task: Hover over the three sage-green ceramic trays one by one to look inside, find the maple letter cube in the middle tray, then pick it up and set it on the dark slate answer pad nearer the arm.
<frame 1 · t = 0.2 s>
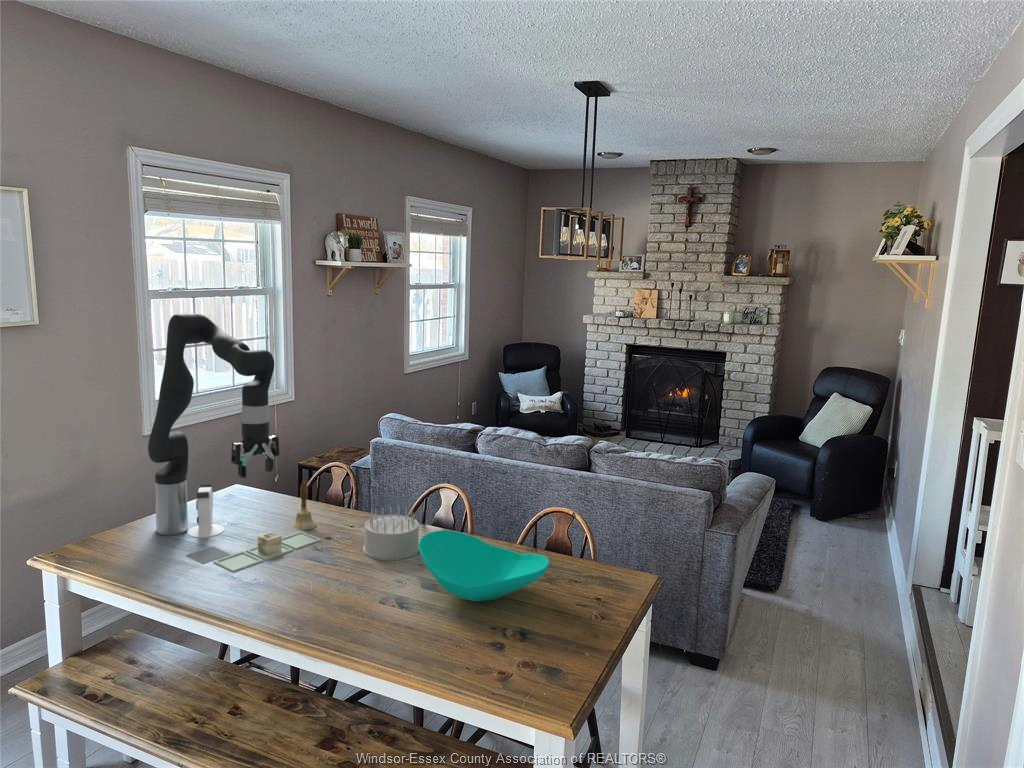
hand: (256, 474, 205), 29 cm above the table, fingers open, 8 cm apart
white post on base: (206, 531, 235), on the table
answer pad: (208, 556, 216), on the table
cake: (391, 550, 228), on the table
table top decor: (480, 595, 200), on the table
tray B: (269, 552, 221), on the table
letter cube: (269, 550, 221), resting on tray B
tray A: (238, 563, 212), on the table
hand bell: (303, 527, 243), on the table
tray C: (298, 542, 230), on the table
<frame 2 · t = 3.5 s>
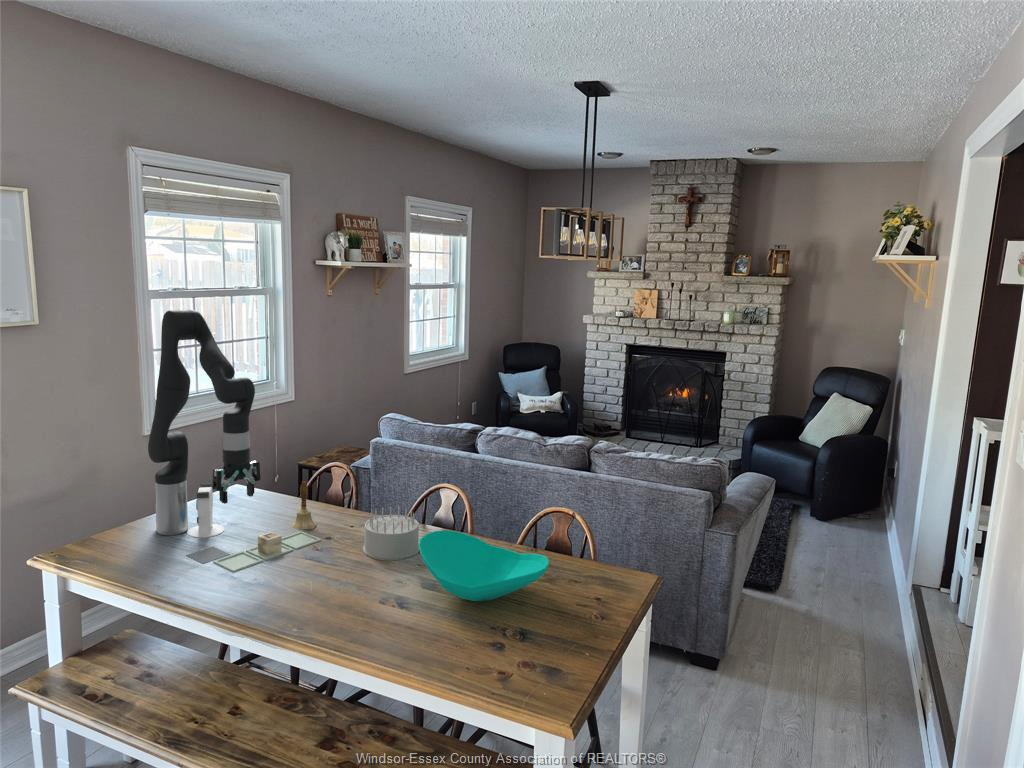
hand: (237, 499, 208), 20 cm above the table, fingers open, 8 cm apart
nothing on the table moved.
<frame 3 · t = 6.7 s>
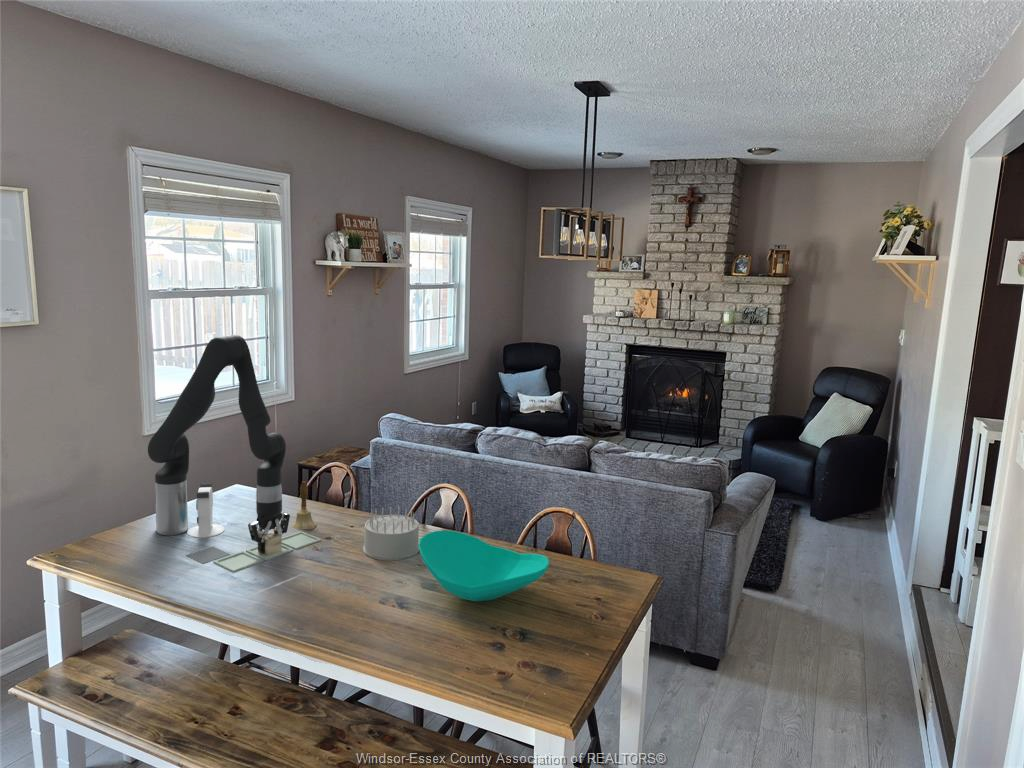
hand: (269, 549, 221), 1 cm above the table, fingers closed on letter cube, 5 cm apart
letter cube: (269, 550, 221), resting on tray B, touching gripper
everything else where it was.
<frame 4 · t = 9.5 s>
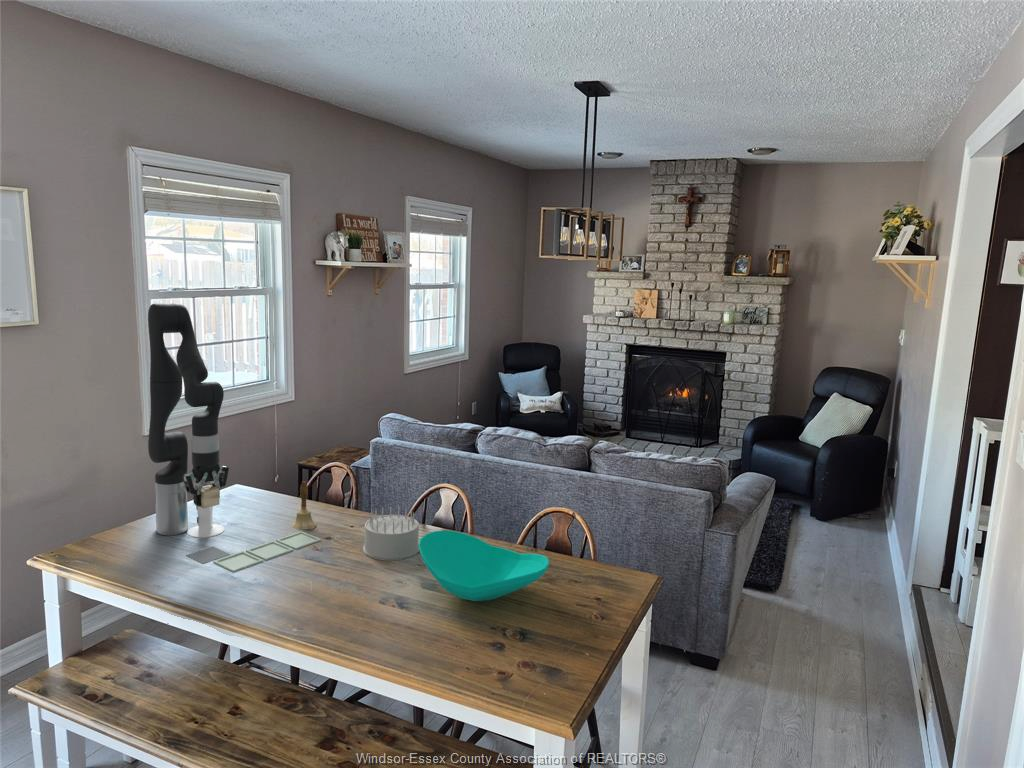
hand: (206, 503, 213), 17 cm above the table, fingers closed on letter cube, 5 cm apart
letter cube: (207, 504, 213), point 17 cm above the table, touching gripper
everything else where it was.
when the fingers open (2 cm above the table, at t = 12.6 s): letter cube drops 1 cm, resting on answer pad.
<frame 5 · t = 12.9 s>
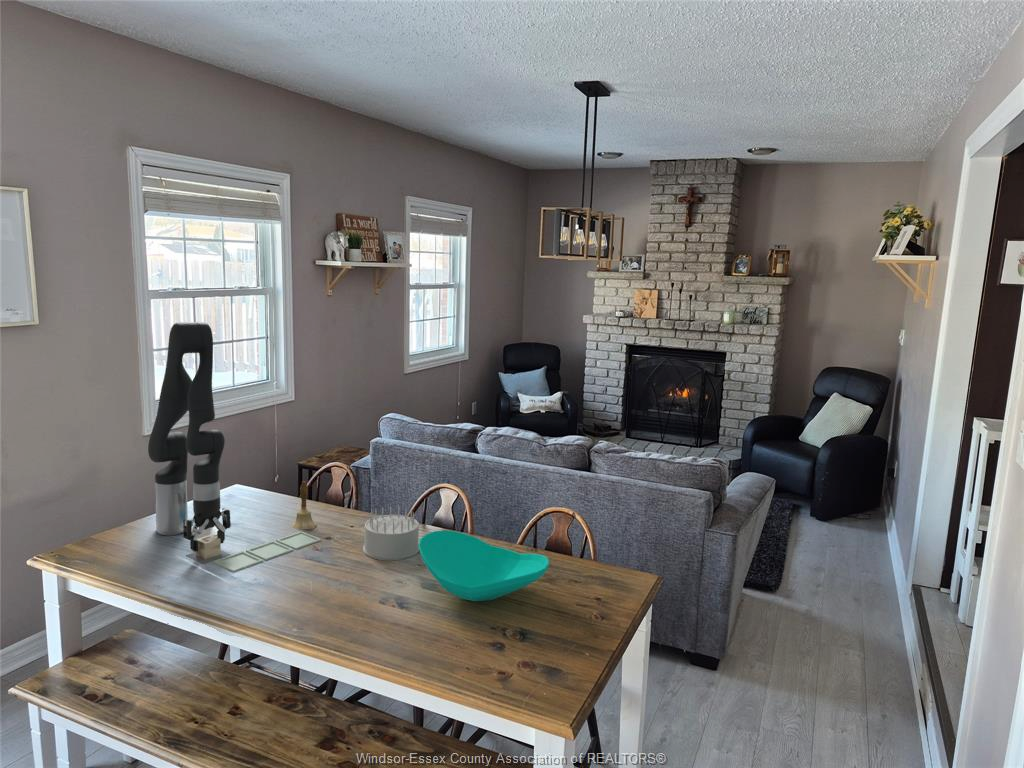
hand: (207, 546, 215), 3 cm above the table, fingers open, 8 cm apart
letter cube: (208, 554, 216), point 1 cm above the table, touching answer pad
everything else where it was.
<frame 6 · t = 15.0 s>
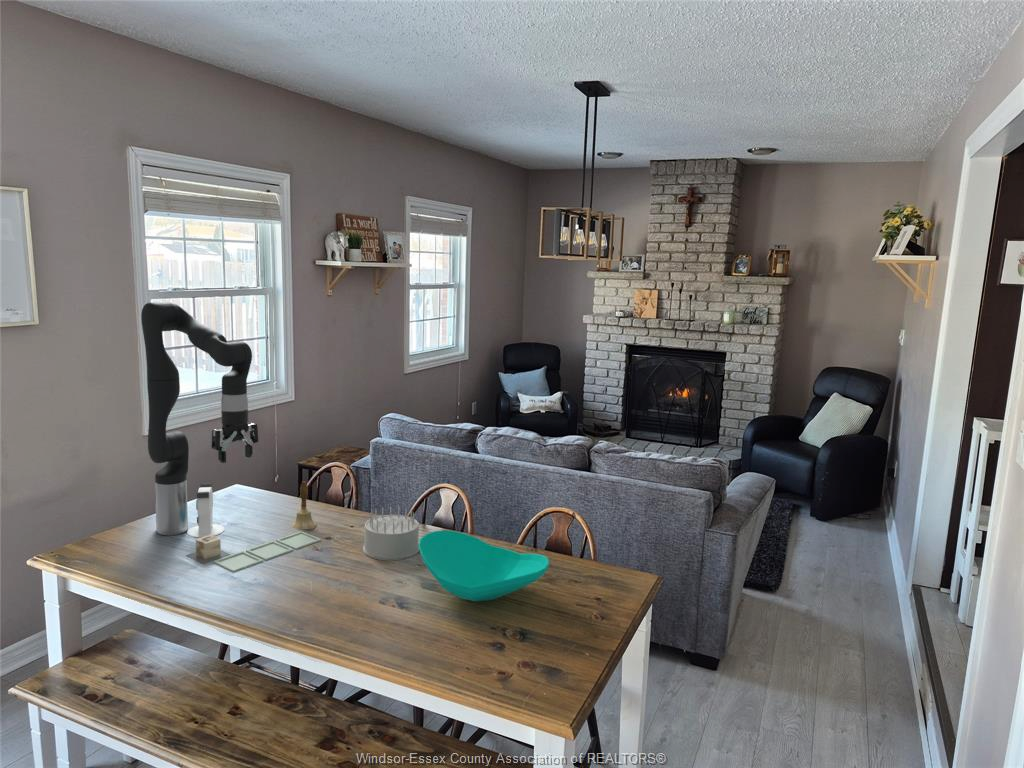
hand: (235, 459, 217), 29 cm above the table, fingers open, 8 cm apart
nothing on the table moved.
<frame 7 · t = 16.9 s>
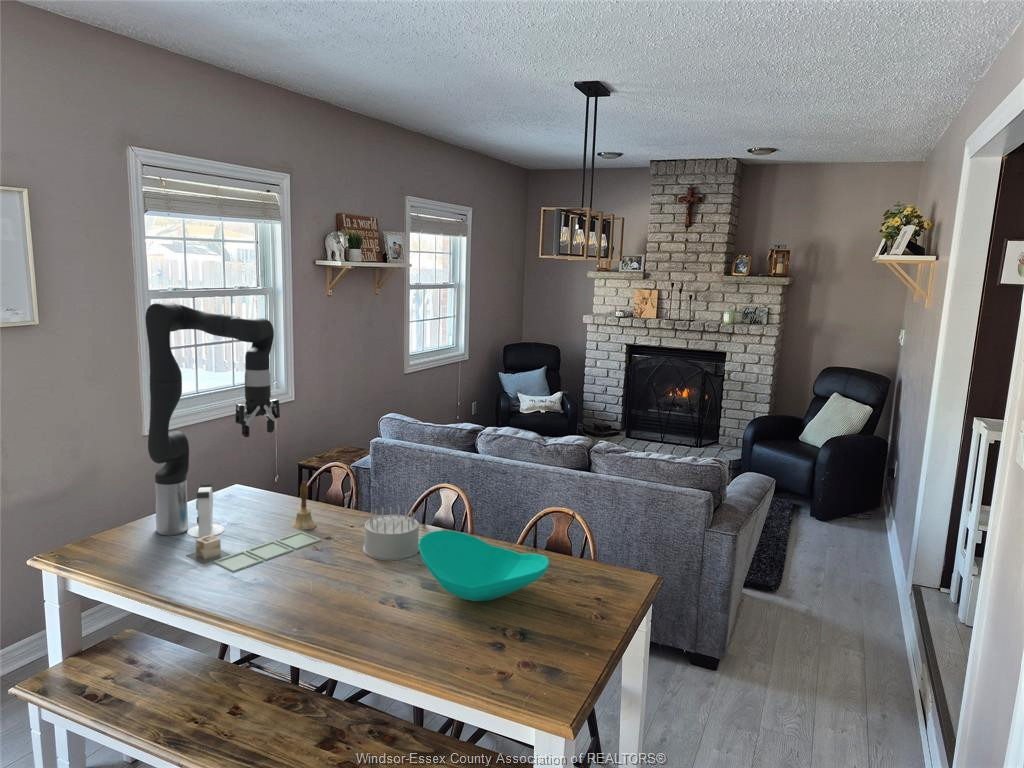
hand: (258, 434, 221), 36 cm above the table, fingers open, 8 cm apart
nothing on the table moved.
at the end: letter cube inside the target area on the answer pad (0.1 cm from its centre), point 0.6 cm above the answer pad's base; letter cube tilted 0°; the gripper is holding nothing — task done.
